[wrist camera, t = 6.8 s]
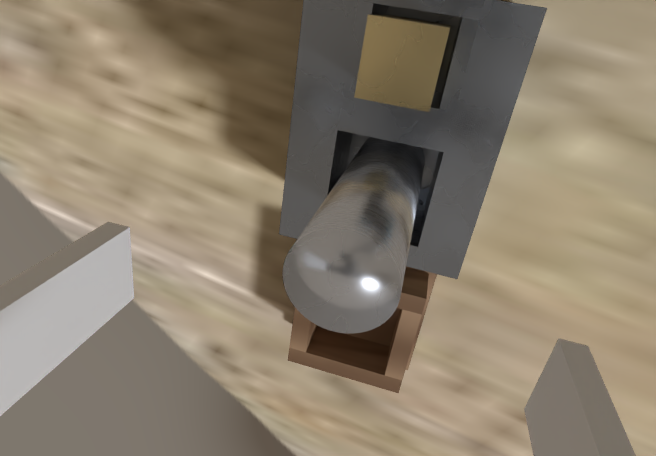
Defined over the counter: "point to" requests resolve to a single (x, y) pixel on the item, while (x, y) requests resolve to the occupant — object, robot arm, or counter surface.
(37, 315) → the robot arm
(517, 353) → the counter surface
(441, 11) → the chuck block
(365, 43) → the tan rectangular block
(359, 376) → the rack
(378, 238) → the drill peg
